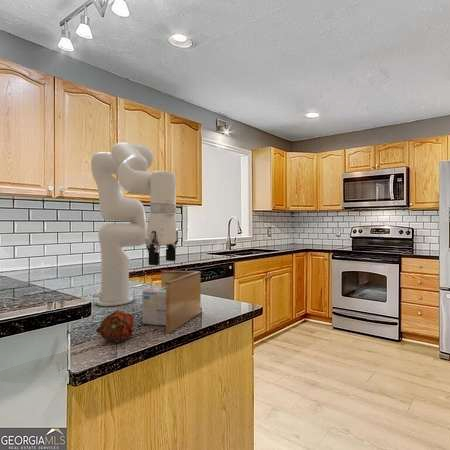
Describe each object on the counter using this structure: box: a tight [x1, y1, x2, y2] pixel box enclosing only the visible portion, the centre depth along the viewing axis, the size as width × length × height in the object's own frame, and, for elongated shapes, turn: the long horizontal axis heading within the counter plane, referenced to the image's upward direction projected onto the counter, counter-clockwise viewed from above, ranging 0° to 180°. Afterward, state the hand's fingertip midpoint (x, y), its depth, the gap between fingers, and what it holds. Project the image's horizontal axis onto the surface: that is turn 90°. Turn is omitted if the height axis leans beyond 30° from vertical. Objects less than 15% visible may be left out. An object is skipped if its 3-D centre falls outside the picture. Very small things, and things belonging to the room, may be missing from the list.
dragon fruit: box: [95, 309, 135, 343], centre depth 89 cm, size 8×8×12 cm
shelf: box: [160, 270, 202, 334], centre depth 105 cm, size 14×21×15 cm
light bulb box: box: [142, 286, 166, 326], centre depth 104 cm, size 11×7×11 cm, turn 79°
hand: (162, 262), depth 104 cm, fingers open, 9 cm apart
